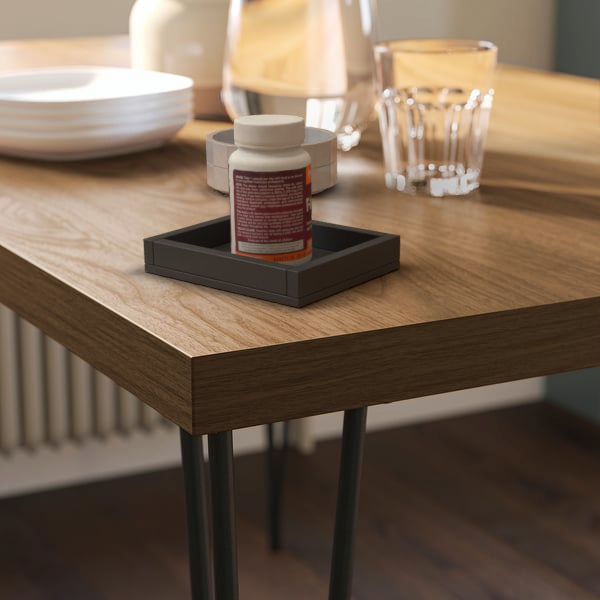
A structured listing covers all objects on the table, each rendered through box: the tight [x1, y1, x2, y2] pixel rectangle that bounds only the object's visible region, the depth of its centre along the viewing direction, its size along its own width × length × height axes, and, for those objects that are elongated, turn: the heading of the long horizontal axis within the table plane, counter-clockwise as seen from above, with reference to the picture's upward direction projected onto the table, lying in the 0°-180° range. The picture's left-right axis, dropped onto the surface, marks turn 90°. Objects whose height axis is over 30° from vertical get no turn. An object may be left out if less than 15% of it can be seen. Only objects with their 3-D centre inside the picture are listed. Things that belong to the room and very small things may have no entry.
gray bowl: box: [205, 125, 338, 196], centre depth 91 cm, size 10×10×4 cm
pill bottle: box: [228, 114, 313, 267], centre depth 68 cm, size 5×5×8 cm
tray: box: [142, 214, 401, 308], centre depth 69 cm, size 12×10×2 cm
